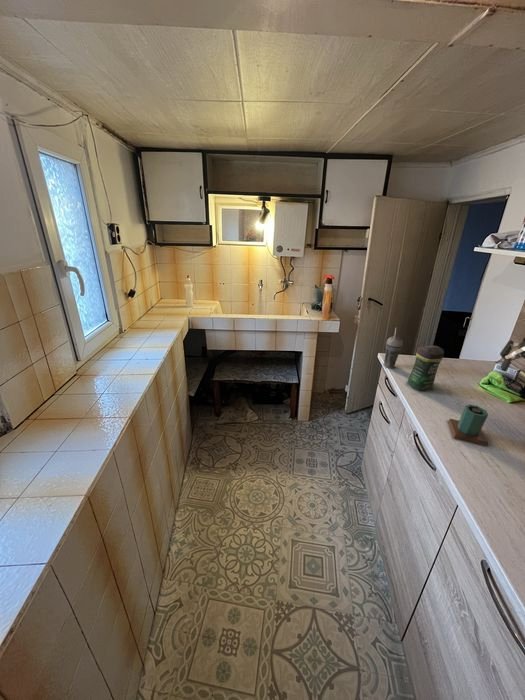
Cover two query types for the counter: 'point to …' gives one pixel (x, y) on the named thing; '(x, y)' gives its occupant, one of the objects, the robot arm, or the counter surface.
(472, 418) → the green octagonal tube
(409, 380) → the coffee jar
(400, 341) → the beverage cup
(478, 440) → the peg stand
